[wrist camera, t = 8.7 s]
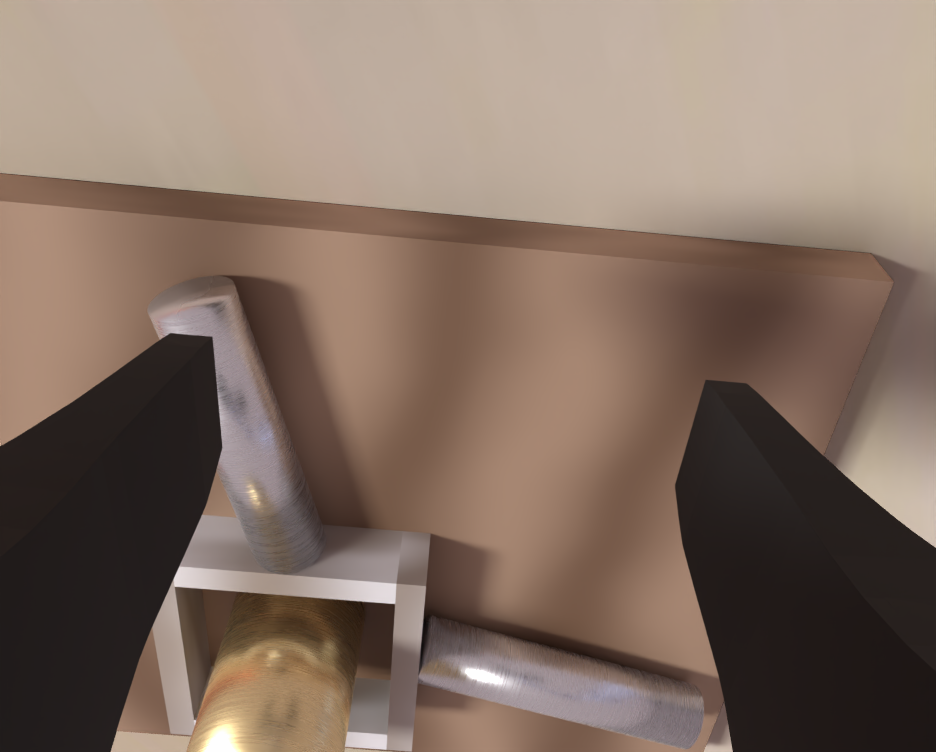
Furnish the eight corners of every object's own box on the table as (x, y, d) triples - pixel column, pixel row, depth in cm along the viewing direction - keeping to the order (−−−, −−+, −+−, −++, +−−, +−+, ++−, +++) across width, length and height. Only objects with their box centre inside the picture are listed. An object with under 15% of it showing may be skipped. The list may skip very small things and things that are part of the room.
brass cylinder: (371, 571, 26) (342, 756, 21) (359, 657, 28) (331, 842, 23) (236, 554, 26) (175, 736, 21) (235, 642, 28) (179, 826, 23)
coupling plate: (871, 253, 22) (929, 326, 19) (686, 736, 33) (705, 828, 30) (-33, 170, 21) (-118, 232, 18) (93, 691, 32) (53, 781, 29)
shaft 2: (696, 671, 28) (709, 726, 27) (668, 707, 29) (678, 762, 28) (433, 601, 27) (429, 655, 25) (413, 641, 28) (407, 695, 26)
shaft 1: (163, 283, 21) (134, 326, 19) (244, 270, 21) (221, 313, 19) (264, 526, 25) (248, 578, 24) (331, 518, 25) (320, 571, 23)
